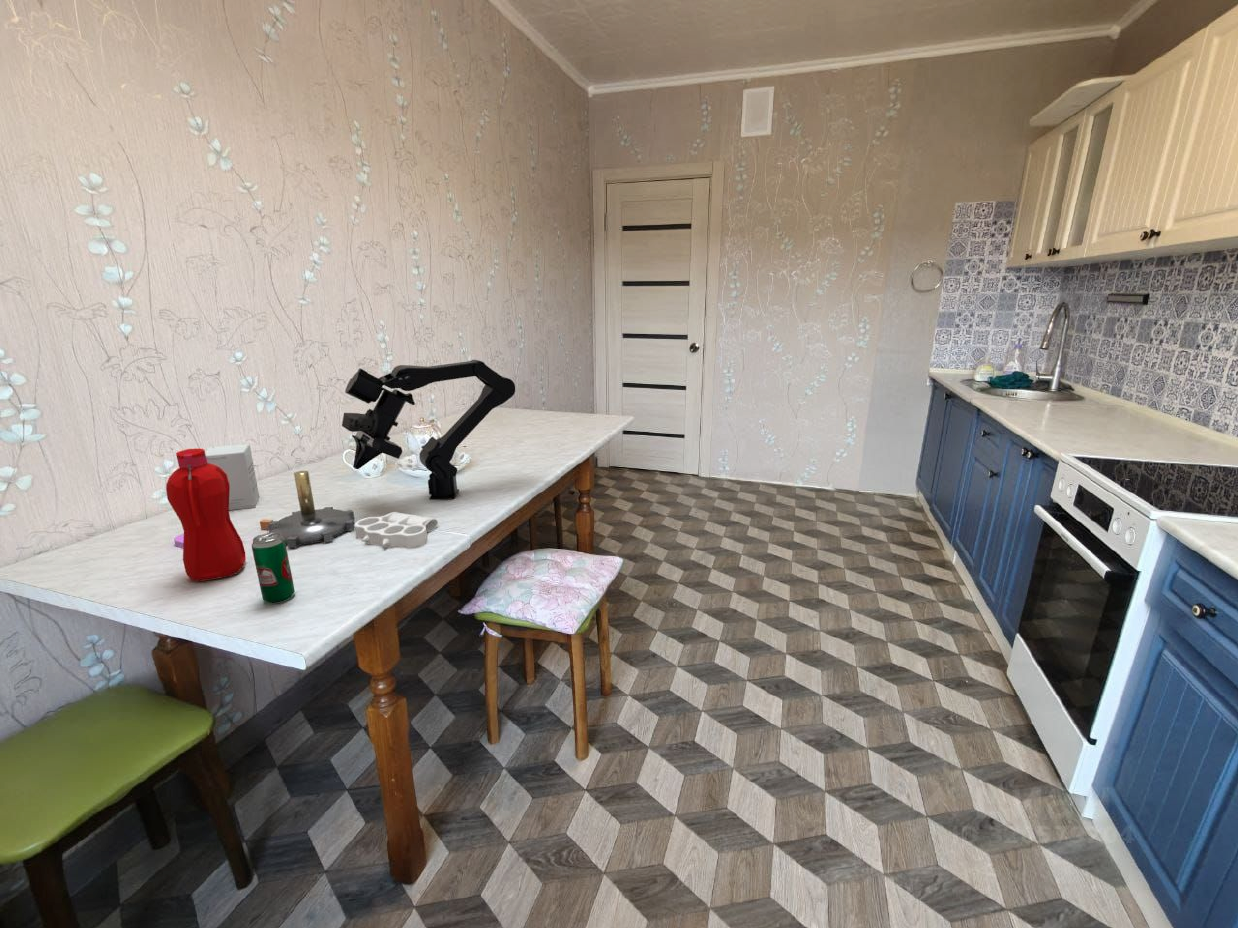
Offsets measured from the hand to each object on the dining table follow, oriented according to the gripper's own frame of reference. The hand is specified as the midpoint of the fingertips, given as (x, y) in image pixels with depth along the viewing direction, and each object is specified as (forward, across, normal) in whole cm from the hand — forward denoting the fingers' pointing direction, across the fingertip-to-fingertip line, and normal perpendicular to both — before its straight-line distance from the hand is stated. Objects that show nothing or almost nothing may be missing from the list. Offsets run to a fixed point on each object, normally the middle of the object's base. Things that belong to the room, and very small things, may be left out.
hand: (355, 468), depth 139 cm
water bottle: (+26, +12, -24) cm, 37 cm away
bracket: (+28, -6, -20) cm, 35 cm away
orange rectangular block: (+21, -4, -10) cm, 23 cm away
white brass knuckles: (+8, +22, +3) cm, 23 cm away
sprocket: (+16, +5, -6) cm, 18 cm away
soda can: (+21, +31, -22) cm, 43 cm away
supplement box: (+24, -26, -7) cm, 36 cm away
